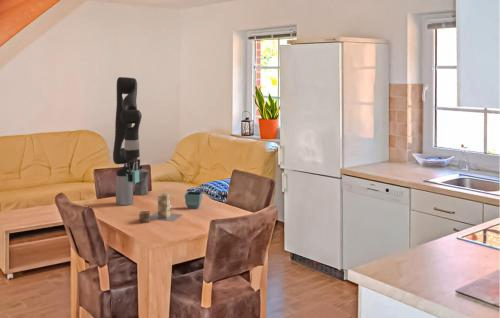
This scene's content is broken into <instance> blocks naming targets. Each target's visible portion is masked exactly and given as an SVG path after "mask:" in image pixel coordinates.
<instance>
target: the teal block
mask: <svg viewBox="0 0 500 318" xmlns="http://www.w3.org/2000/svg"><path fill="white" fill-rule="evenodd" d="M130 171H131V170H130ZM132 177H133V181H132V182H129V181H128V174H126V183H133V184H136V183H137V182H140V181H139V170H133V173H132Z"/></svg>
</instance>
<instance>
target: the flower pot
mask: <svg viewBox="0 0 500 318" xmlns="http://www.w3.org/2000/svg"><path fill="white" fill-rule="evenodd" d="M184 199H185V205H186V207H187V209H188V210H198V209H200V206H201V204H202V201H203V200H202V199H203V192H202V191H187V192H185V194H184Z"/></svg>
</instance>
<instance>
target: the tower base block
mask: <svg viewBox="0 0 500 318" xmlns="http://www.w3.org/2000/svg"><path fill="white" fill-rule="evenodd" d="M157 213H158V218H168V217H170V214H171V204H170V205H169V206H168V207H158V206H157Z"/></svg>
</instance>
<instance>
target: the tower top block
mask: <svg viewBox="0 0 500 318" xmlns="http://www.w3.org/2000/svg"><path fill="white" fill-rule="evenodd" d="M170 195H171V194H170V193H159V194H158V195H157V208H158V207H168V206H169V205H170V206H171V201H170V200H171V199H170Z"/></svg>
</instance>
